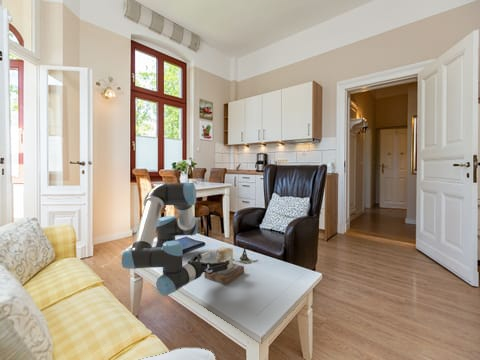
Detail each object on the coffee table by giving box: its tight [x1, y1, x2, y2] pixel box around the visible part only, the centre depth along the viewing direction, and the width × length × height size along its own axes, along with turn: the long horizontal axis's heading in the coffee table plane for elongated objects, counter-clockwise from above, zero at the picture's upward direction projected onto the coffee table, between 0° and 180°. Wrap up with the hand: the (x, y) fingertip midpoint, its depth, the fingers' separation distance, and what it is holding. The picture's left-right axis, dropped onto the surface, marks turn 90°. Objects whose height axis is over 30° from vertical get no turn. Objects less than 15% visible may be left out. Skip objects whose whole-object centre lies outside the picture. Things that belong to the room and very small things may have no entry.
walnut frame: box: [204, 262, 245, 286], centre depth 124 cm, size 14×16×4 cm
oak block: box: [216, 246, 234, 271], centre depth 124 cm, size 6×6×10 cm
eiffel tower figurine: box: [233, 240, 258, 265], centre depth 145 cm, size 15×10×13 cm
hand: (220, 256), depth 120 cm, fingers open, 13 cm apart
